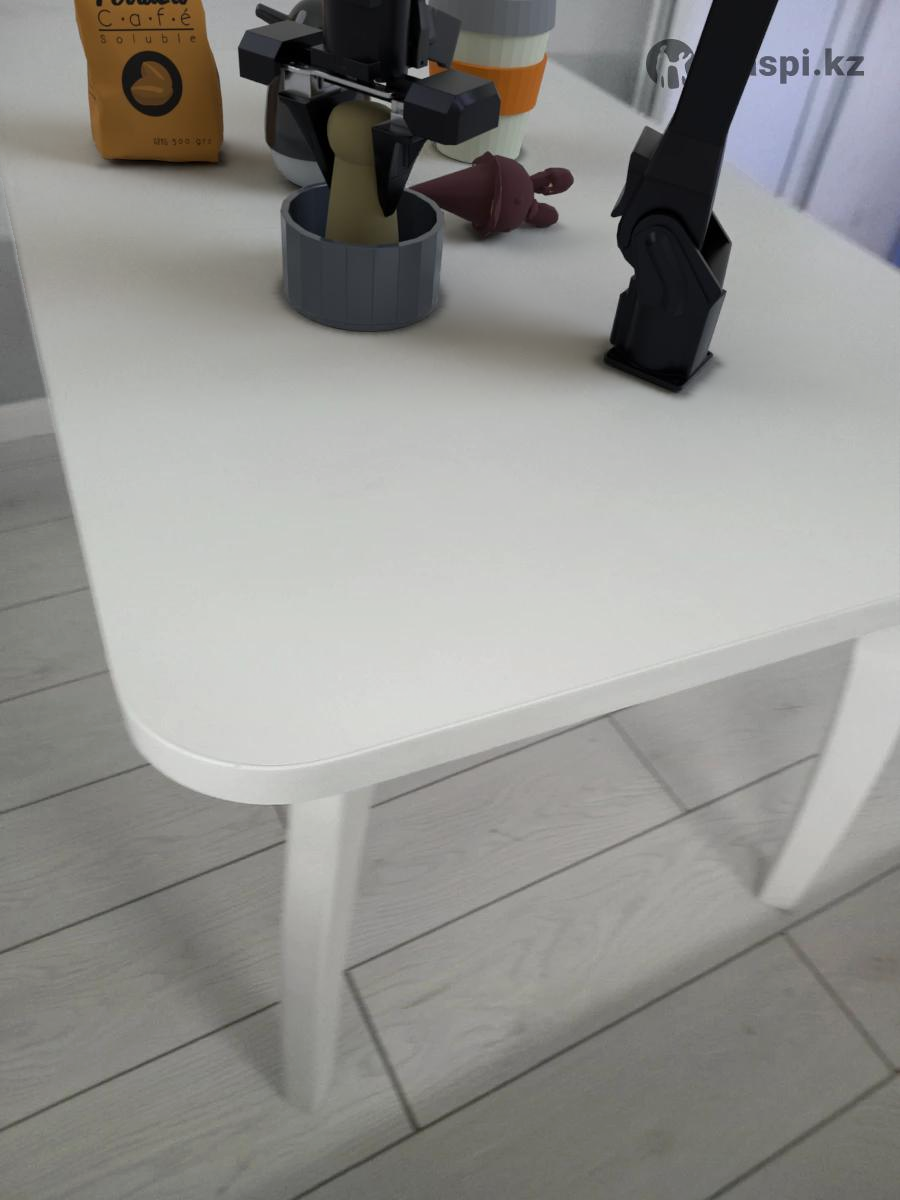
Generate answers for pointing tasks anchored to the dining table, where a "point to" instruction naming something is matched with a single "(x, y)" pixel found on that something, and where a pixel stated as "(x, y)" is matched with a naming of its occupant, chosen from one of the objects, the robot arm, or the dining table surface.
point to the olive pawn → (357, 177)
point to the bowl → (361, 264)
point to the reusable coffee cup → (500, 64)
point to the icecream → (497, 194)
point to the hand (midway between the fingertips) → (363, 206)
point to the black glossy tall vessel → (278, 120)
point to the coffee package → (151, 80)
